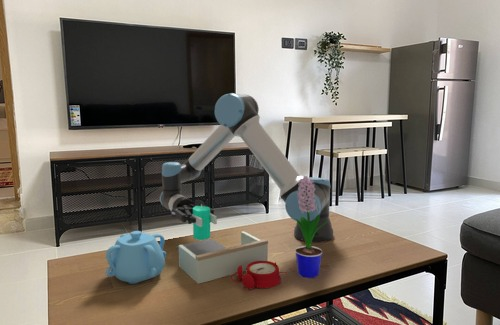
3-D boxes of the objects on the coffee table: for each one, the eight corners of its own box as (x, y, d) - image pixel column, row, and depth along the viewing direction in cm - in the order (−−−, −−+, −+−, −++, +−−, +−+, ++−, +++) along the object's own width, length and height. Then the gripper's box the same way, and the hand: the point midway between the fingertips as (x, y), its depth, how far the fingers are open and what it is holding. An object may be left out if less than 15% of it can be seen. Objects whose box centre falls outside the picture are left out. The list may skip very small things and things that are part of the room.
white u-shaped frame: (244, 250, 133) (244, 228, 132) (267, 264, 121) (268, 240, 120) (179, 266, 120) (178, 242, 119) (198, 284, 108) (197, 257, 107)
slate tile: (211, 240, 142) (211, 238, 142) (230, 252, 131) (230, 250, 131) (176, 248, 135) (176, 246, 135) (192, 261, 123) (192, 259, 123)
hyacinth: (319, 284, 107) (321, 181, 103) (288, 274, 114) (289, 177, 109) (332, 273, 114) (335, 176, 110) (302, 264, 120) (304, 172, 116)
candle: (189, 236, 132) (189, 203, 130) (203, 232, 136) (202, 200, 135) (200, 241, 128) (200, 207, 126) (214, 236, 132) (213, 203, 131)
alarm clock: (291, 272, 107) (242, 269, 101) (286, 293, 108) (237, 292, 101) (274, 258, 117) (229, 255, 111) (270, 278, 117) (224, 275, 111)
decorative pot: (172, 265, 121) (171, 224, 119) (154, 289, 105) (152, 242, 103) (124, 263, 123) (122, 223, 121) (99, 286, 107) (96, 240, 105)
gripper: (202, 211, 151) (231, 227, 132) (159, 219, 142) (184, 237, 123) (202, 193, 150) (231, 207, 131) (159, 199, 141) (183, 214, 121)
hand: (208, 221), depth 127 cm, fingers closed on candle, 5 cm apart
